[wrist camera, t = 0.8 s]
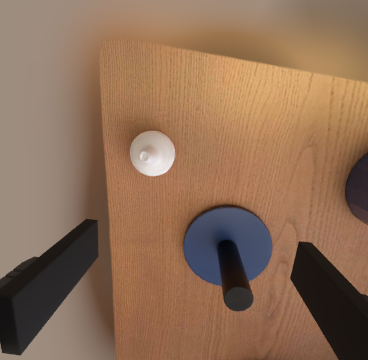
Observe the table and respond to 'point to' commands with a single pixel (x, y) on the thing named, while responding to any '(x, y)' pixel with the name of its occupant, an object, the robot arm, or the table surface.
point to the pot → (358, 189)
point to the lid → (228, 252)
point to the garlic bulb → (152, 153)
